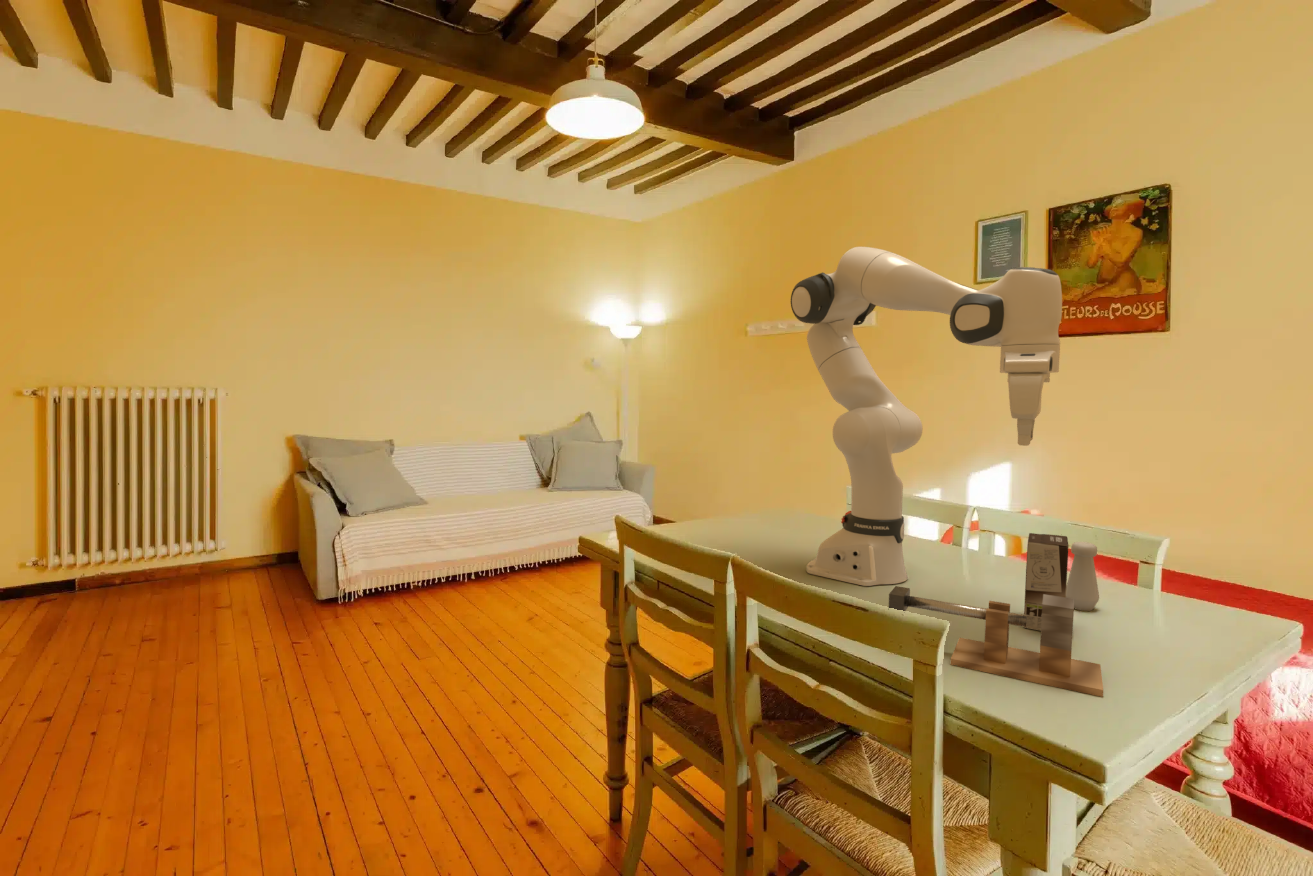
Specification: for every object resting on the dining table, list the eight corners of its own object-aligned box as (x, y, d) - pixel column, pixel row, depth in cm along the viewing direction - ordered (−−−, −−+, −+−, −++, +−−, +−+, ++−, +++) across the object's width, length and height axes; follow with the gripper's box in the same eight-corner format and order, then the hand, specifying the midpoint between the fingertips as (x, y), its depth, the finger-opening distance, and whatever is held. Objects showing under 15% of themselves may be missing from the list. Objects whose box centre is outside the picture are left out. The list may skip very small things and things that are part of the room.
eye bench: (950, 664, 103) (953, 594, 102) (959, 643, 112) (961, 578, 111) (1103, 696, 93) (1107, 619, 92) (1100, 670, 101) (1104, 599, 100)
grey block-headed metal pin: (888, 611, 110) (889, 593, 110) (895, 602, 114) (895, 586, 114) (1025, 635, 99) (1026, 616, 99) (1026, 625, 104) (1027, 607, 103)
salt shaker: (1104, 613, 126) (1107, 547, 124) (1071, 611, 127) (1074, 546, 126) (1090, 603, 131) (1094, 540, 130) (1059, 601, 132) (1062, 538, 131)
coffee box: (1064, 635, 115) (1069, 546, 113) (1022, 628, 118) (1026, 541, 117) (1064, 619, 123) (1068, 535, 121) (1024, 613, 126) (1028, 531, 125)
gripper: (1012, 364, 122) (1009, 437, 123) (1003, 361, 105) (999, 447, 106) (1051, 363, 119) (1047, 439, 120) (1049, 360, 101) (1044, 449, 103)
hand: (1025, 442), depth 113 cm, fingers open, 8 cm apart
